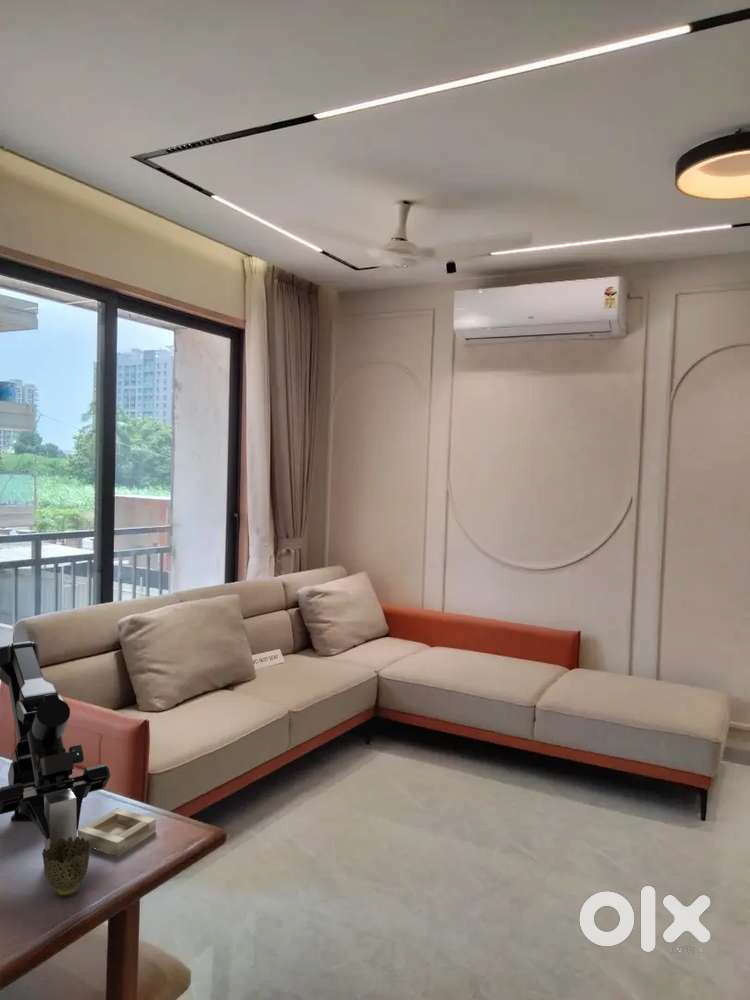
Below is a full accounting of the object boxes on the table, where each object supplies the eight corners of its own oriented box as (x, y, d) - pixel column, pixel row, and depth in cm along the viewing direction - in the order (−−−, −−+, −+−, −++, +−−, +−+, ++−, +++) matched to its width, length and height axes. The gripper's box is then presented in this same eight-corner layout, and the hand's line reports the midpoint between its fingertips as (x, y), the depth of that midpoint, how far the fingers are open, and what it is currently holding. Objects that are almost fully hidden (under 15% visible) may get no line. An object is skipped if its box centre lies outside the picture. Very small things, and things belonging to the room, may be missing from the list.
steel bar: (45, 865, 131) (44, 794, 130) (70, 857, 134) (70, 788, 133) (50, 876, 128) (49, 804, 127) (76, 868, 130) (76, 797, 129)
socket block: (78, 845, 139) (77, 830, 139) (117, 822, 148) (117, 807, 148) (117, 858, 134) (117, 842, 134) (155, 833, 143) (155, 818, 143)
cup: (73, 909, 119) (72, 861, 118) (33, 903, 120) (32, 856, 120) (99, 883, 126) (99, 838, 125) (61, 878, 127) (60, 833, 127)
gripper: (-3, 743, 127) (9, 832, 119) (107, 721, 138) (125, 801, 130) (-10, 771, 134) (1, 857, 126) (95, 748, 145) (112, 826, 137)
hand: (62, 834), depth 129 cm, fingers closed on steel bar, 4 cm apart
